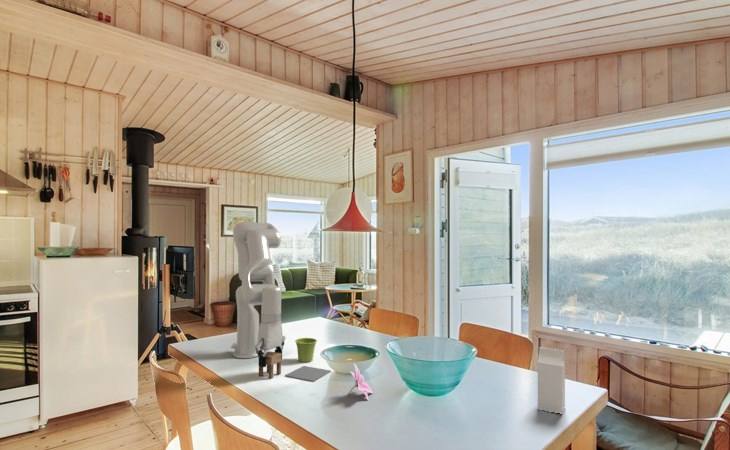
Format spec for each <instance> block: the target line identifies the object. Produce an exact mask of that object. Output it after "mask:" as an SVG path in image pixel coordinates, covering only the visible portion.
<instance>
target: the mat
mask: <svg viewBox="0 0 730 450" xmlns="http://www.w3.org/2000/svg"><path fill="white" fill-rule="evenodd" d="M330 373H332V370H330V369H324V368H319V367H313V366H307V365H302V366H300V367H298V368H296V369H295V370H292V371H290V372H288V373H286V374H285V375H284V377H285V378H292V379H297V380H303V381H307V382H312V383H313V382H316V381H318V380H319V379H321V378H323V377H325V376H326V375H328V374H330Z"/></svg>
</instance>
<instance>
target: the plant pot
mask: <svg viewBox="0 0 730 450" xmlns="http://www.w3.org/2000/svg"><path fill="white" fill-rule="evenodd" d="M294 342H295V344H296V345H295V346H296V348H297V350H296V351H297V360H298V362H301V363H312V361H313V359H314V353H315V347H316V343H317V342H318V340H317V339H316V338H311V337H301V338H296V339H295V341H294Z"/></svg>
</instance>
